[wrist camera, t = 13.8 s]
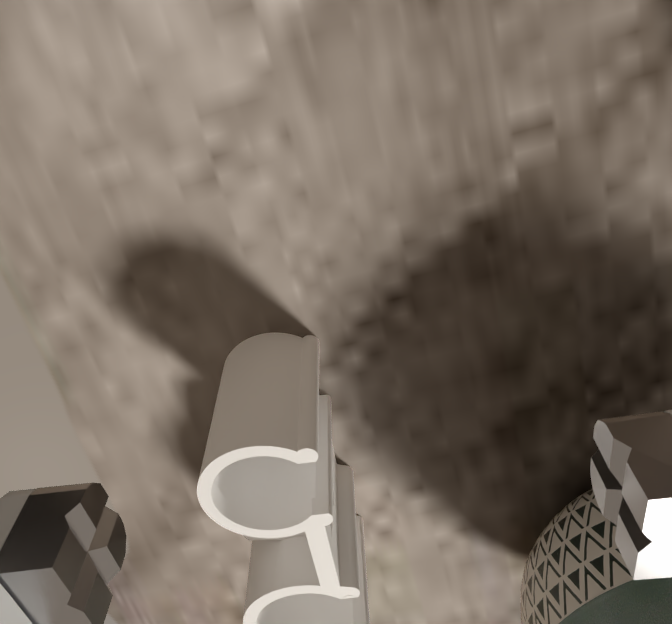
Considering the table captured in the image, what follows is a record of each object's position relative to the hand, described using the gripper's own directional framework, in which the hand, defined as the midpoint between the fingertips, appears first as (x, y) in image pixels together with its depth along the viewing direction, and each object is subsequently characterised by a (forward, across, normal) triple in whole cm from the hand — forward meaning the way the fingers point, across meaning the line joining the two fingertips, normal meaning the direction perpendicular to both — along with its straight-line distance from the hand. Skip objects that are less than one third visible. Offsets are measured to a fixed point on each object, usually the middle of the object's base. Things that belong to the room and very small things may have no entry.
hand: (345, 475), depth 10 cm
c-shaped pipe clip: (+31, +8, +30) cm, 44 cm away
